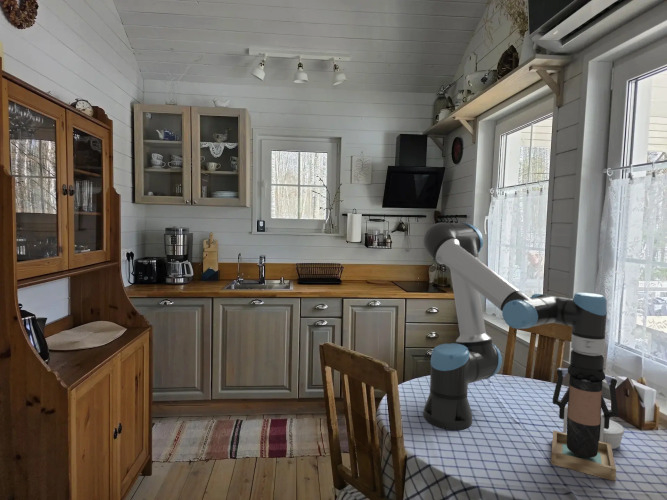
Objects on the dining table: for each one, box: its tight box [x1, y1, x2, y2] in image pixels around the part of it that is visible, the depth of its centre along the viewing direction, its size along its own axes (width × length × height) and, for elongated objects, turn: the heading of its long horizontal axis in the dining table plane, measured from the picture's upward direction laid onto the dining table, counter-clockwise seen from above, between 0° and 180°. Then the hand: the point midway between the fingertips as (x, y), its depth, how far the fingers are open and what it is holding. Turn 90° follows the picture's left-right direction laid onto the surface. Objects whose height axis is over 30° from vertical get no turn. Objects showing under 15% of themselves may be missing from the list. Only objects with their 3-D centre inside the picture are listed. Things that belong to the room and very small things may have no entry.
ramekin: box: [599, 419, 625, 450], centre depth 119 cm, size 11×11×5 cm
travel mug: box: [566, 375, 603, 457], centre depth 109 cm, size 8×8×20 cm
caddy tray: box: [550, 429, 617, 482], centre depth 109 cm, size 14×14×3 cm
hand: (582, 434), depth 109 cm, fingers closed on travel mug, 8 cm apart
